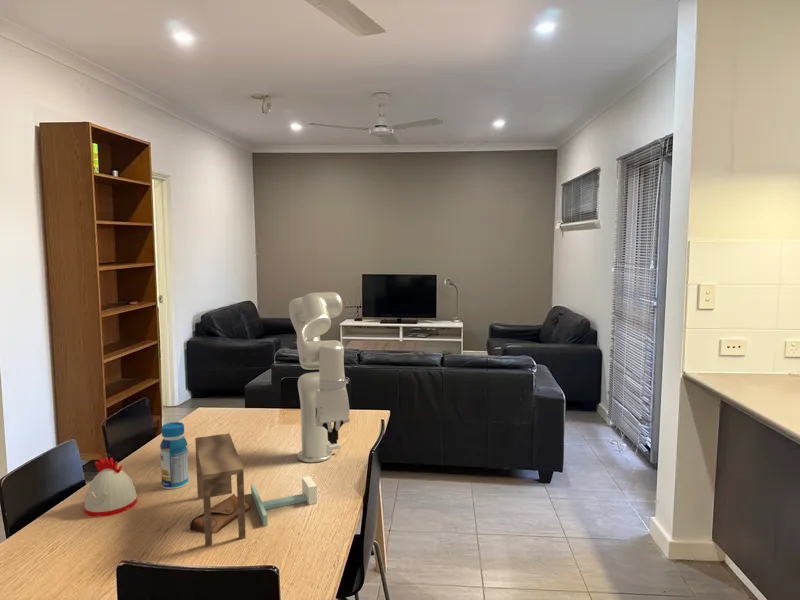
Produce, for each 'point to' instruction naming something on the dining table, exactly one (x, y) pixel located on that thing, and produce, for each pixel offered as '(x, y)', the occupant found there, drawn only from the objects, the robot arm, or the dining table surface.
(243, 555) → the dining table surface
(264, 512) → the mint t-bar
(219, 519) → the sunglasses case
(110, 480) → the kitchen timer
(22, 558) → the dining table surface
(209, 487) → the tunnel
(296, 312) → the robot arm
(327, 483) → the dining table surface
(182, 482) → the beverage bottle
